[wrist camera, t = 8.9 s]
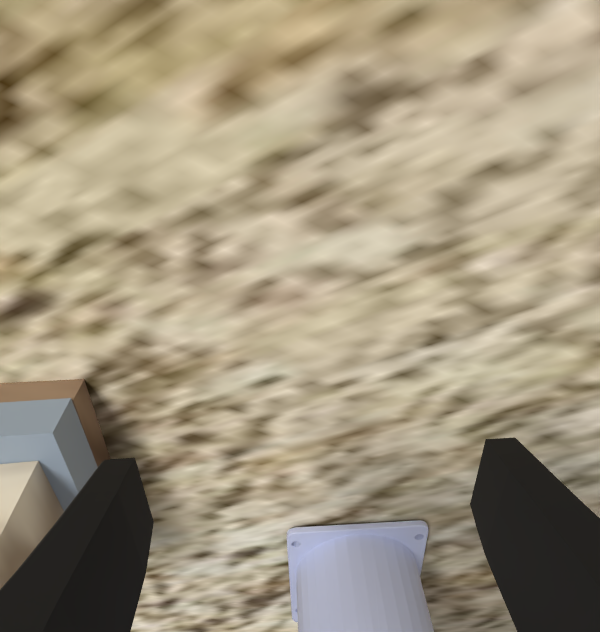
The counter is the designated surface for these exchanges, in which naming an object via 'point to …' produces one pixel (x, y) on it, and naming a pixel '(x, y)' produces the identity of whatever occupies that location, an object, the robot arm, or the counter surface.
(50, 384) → the walnut slab
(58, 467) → the slate slab
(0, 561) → the birch block
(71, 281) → the counter surface
